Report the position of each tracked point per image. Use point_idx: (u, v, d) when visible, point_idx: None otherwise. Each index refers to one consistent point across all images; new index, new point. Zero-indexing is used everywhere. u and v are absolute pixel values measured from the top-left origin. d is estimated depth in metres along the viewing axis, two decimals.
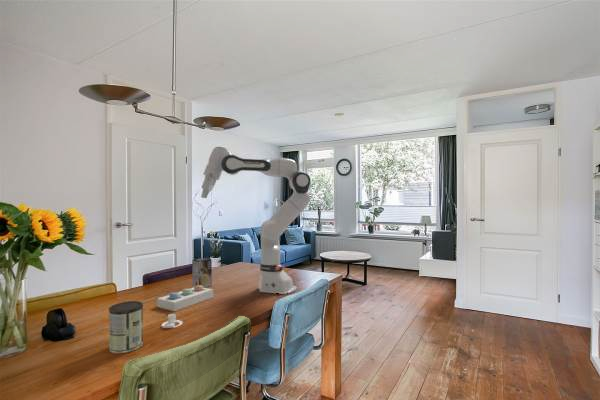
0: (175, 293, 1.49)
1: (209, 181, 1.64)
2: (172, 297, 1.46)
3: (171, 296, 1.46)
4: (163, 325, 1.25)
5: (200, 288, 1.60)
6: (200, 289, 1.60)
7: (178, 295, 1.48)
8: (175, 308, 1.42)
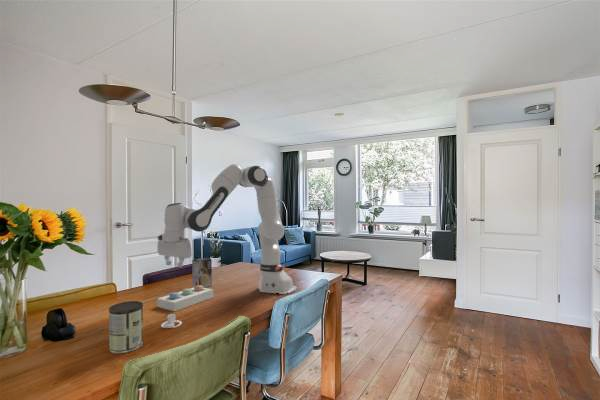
0: (175, 293, 1.49)
1: (190, 247, 1.44)
2: (172, 297, 1.46)
3: (171, 296, 1.46)
4: (163, 325, 1.25)
5: (200, 288, 1.60)
6: (200, 289, 1.60)
7: (178, 295, 1.48)
8: (175, 308, 1.42)
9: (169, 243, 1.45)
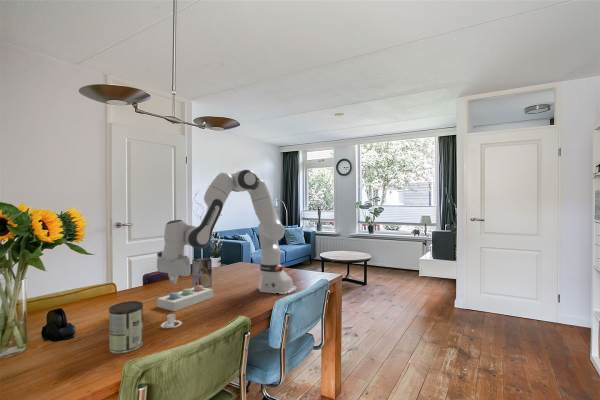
0: (175, 293, 1.49)
1: (189, 265, 1.44)
2: (172, 297, 1.46)
3: (171, 296, 1.46)
4: (162, 325, 1.25)
5: (200, 288, 1.60)
6: (200, 289, 1.60)
7: (178, 295, 1.48)
8: (175, 308, 1.42)
9: (168, 260, 1.45)
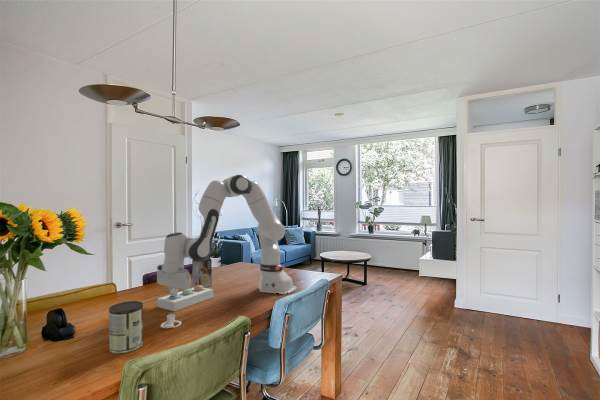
0: None
1: (189, 278, 1.44)
2: None
3: (171, 298, 1.46)
4: (162, 325, 1.25)
5: (200, 288, 1.60)
6: (200, 289, 1.60)
7: (178, 297, 1.48)
8: (175, 308, 1.42)
9: (169, 274, 1.45)
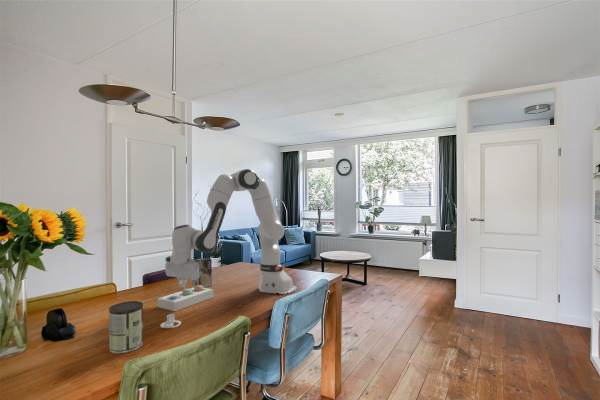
0: (175, 296, 1.49)
1: (198, 269, 1.48)
2: None
3: (171, 299, 1.46)
4: (162, 325, 1.25)
5: (200, 288, 1.60)
6: (200, 289, 1.60)
7: None
8: (175, 308, 1.42)
9: (177, 265, 1.49)
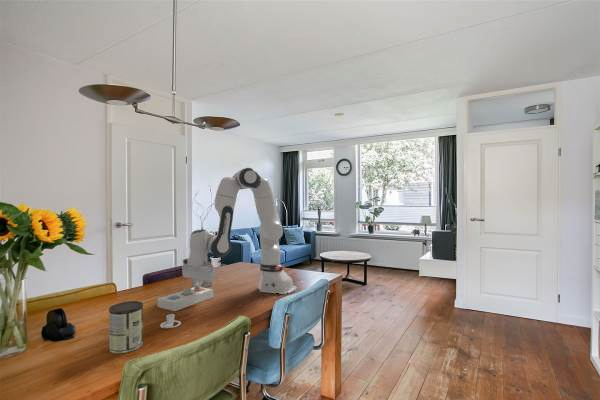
0: (175, 296, 1.49)
1: (213, 271, 1.57)
2: None
3: (171, 299, 1.46)
4: (162, 325, 1.25)
5: (200, 290, 1.60)
6: None
7: None
8: (175, 308, 1.42)
9: (194, 267, 1.58)
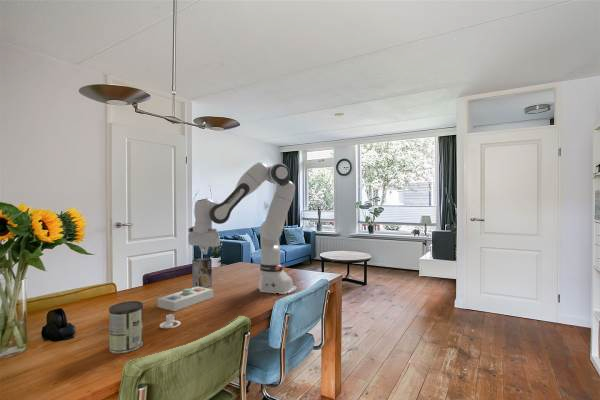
0: (175, 296, 1.49)
1: (218, 237, 1.65)
2: None
3: (171, 299, 1.46)
4: (161, 325, 1.25)
5: None
6: None
7: None
8: (175, 308, 1.42)
9: (200, 234, 1.66)
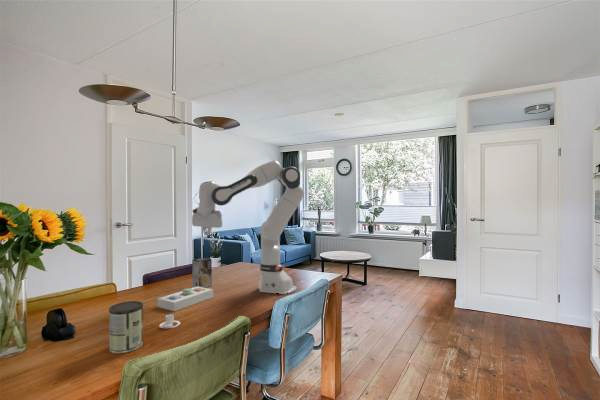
0: (175, 296, 1.49)
1: (221, 218, 1.70)
2: None
3: (171, 299, 1.46)
4: (161, 325, 1.25)
5: None
6: None
7: None
8: (175, 308, 1.42)
9: (203, 215, 1.71)
